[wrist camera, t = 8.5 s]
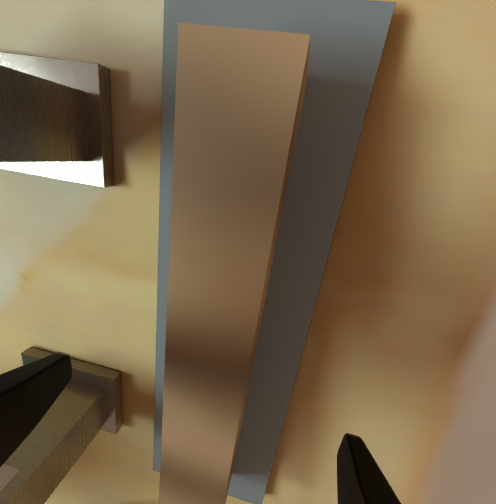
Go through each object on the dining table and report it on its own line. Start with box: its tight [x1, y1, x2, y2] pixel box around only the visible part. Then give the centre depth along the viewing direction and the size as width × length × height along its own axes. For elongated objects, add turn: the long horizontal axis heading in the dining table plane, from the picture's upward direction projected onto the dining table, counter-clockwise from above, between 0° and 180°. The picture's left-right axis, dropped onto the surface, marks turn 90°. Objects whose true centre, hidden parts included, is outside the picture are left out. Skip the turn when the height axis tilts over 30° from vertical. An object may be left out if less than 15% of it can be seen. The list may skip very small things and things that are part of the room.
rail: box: [159, 23, 310, 504], centre depth 11 cm, size 20×3×3 cm, turn 172°
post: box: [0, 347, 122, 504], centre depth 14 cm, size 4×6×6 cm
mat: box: [153, 0, 396, 504], centre depth 12 cm, size 24×7×1 cm, turn 172°
